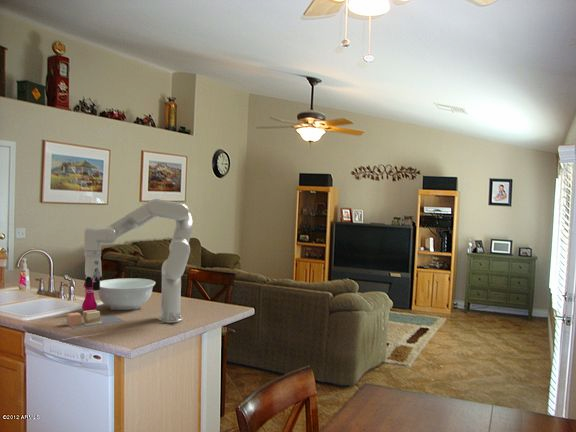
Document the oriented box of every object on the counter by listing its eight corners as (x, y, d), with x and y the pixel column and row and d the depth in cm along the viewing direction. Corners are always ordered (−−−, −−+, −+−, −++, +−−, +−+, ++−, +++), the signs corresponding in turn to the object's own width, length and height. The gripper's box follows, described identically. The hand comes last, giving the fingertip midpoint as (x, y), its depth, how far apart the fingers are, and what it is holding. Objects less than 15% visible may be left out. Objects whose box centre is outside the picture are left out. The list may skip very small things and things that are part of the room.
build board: (125, 323, 238) (125, 320, 238) (72, 330, 222) (72, 328, 222) (113, 317, 249) (113, 315, 249) (62, 324, 232) (62, 322, 232)
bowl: (80, 311, 259) (81, 284, 258) (118, 300, 290) (119, 276, 289) (132, 317, 249) (133, 289, 249) (166, 305, 280) (166, 280, 280)
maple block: (99, 322, 234) (100, 311, 234) (87, 324, 230) (87, 313, 230) (95, 319, 238) (95, 309, 238) (82, 321, 234) (83, 311, 234)
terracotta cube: (81, 324, 229) (81, 314, 228) (70, 326, 225) (70, 315, 225) (77, 322, 232) (77, 312, 232) (66, 324, 229) (66, 313, 229)
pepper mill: (87, 317, 247) (88, 278, 247) (78, 315, 251) (79, 276, 250) (99, 314, 253) (100, 276, 253) (91, 312, 257) (91, 275, 257)
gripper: (107, 254, 229) (107, 290, 230) (93, 251, 242) (93, 285, 243) (91, 255, 224) (91, 292, 225) (78, 252, 237) (78, 286, 238)
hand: (92, 288), depth 234 cm, fingers open, 9 cm apart
